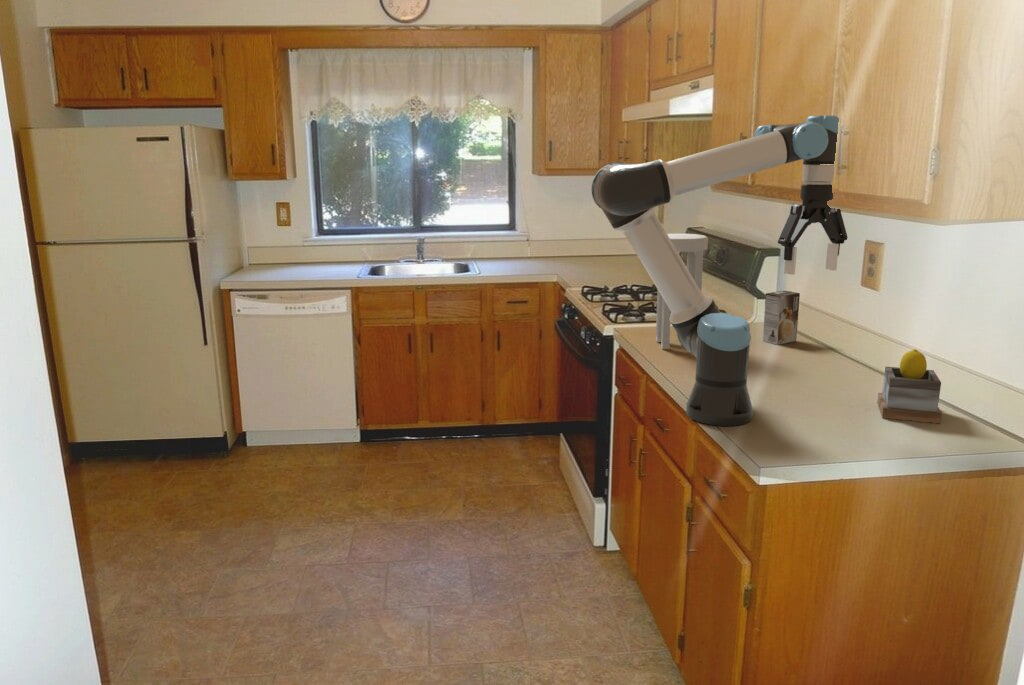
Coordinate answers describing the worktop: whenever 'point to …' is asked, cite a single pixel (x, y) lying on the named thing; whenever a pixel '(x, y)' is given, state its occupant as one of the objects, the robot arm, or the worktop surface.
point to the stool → (694, 265)
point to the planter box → (910, 397)
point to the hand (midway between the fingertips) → (810, 271)
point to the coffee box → (781, 317)
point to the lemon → (913, 365)
